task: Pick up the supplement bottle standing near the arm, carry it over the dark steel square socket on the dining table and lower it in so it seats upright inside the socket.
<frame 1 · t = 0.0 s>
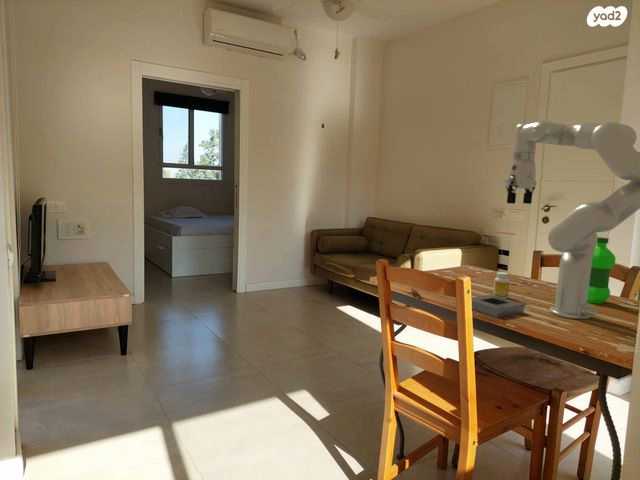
hand: (519, 203, 176), 37 cm above the table, tool pointing down, fingers open, 9 cm apart
plastic bottle: (594, 302, 180), on the table
supplement bottle: (500, 297, 182), on the table
socket: (493, 309, 163), on the table
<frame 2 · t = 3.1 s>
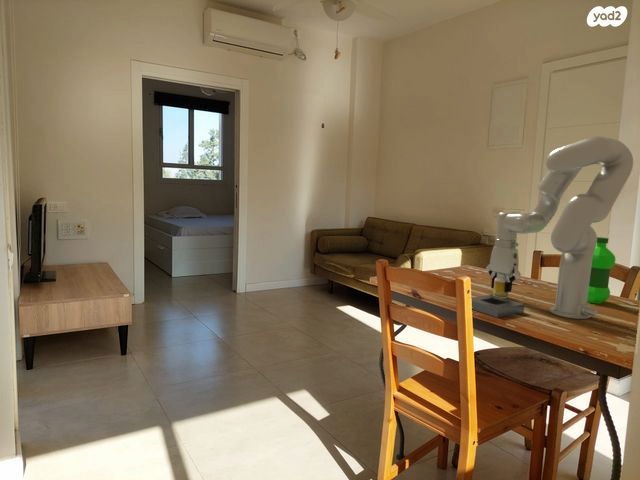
hand: (501, 289, 181), 3 cm above the table, tool pointing down, fingers closed on supplement bottle, 5 cm apart
supplement bottle: (500, 297, 182), on the table, touching gripper
everything else where it was.
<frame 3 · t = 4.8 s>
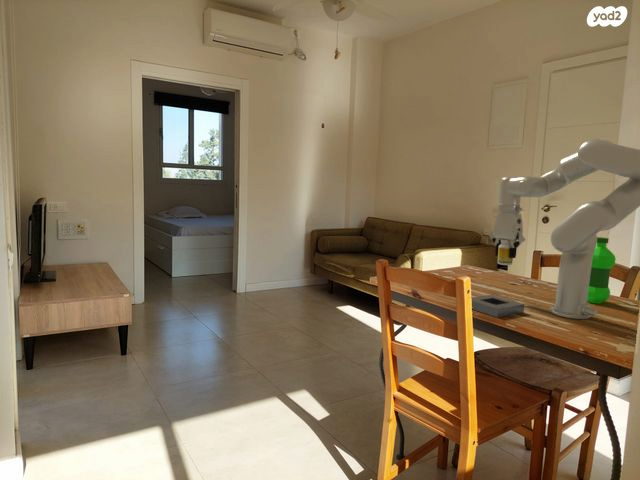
hand: (505, 256, 179), 16 cm above the table, tool pointing down, fingers closed on supplement bottle, 5 cm apart
supplement bottle: (504, 264, 179), point 13 cm above the table, touching gripper
everything else where it was.
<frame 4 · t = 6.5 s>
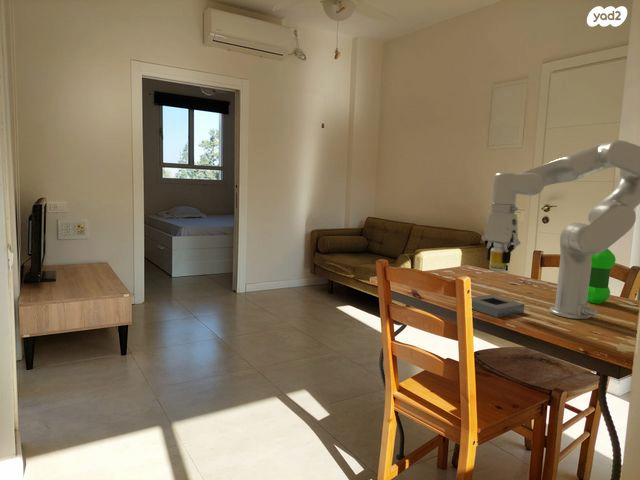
hand: (498, 261, 161), 17 cm above the table, tool pointing down, fingers closed on supplement bottle, 5 cm apart
supplement bottle: (497, 270, 161), point 14 cm above the table, touching gripper
everything else where it was.
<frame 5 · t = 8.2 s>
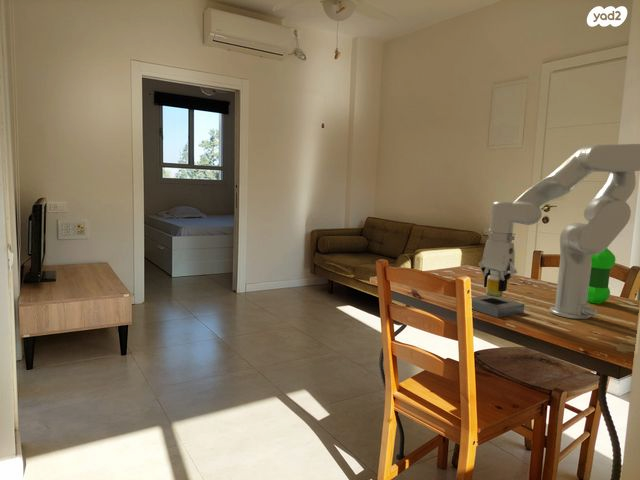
hand: (494, 288, 162), 8 cm above the table, tool pointing down, fingers closed on supplement bottle, 5 cm apart
supplement bottle: (493, 297, 162), point 4 cm above the table, touching gripper
everything else where it was.
when the fingers open (4 cm above the table, at t = 9.7 s): supplement bottle drops 1 cm, resting in socket.
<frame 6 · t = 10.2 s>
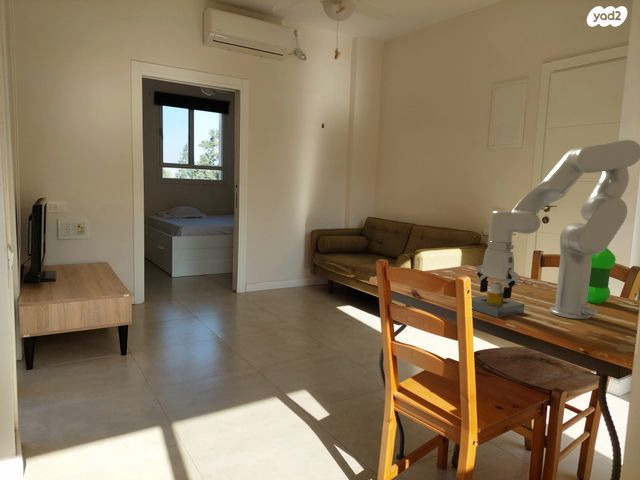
hand: (494, 294, 162), 5 cm above the table, tool pointing down, fingers open, 9 cm apart
supplement bottle: (493, 310, 163), resting in socket
everything else where it was.
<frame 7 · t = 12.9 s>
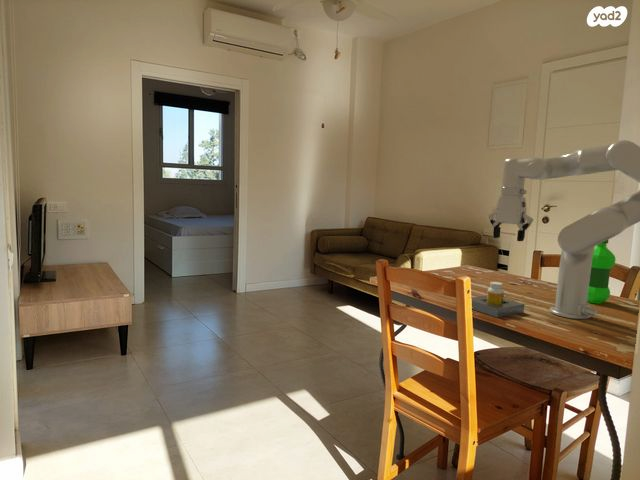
hand: (508, 239, 172), 24 cm above the table, tool pointing down, fingers open, 9 cm apart
nothing on the table moved.
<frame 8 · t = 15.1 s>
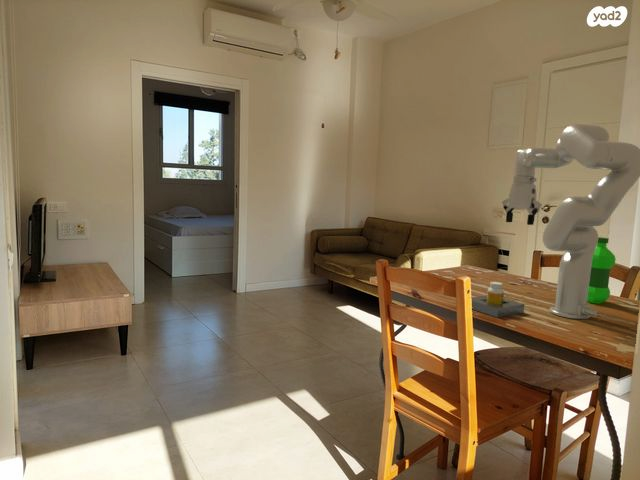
hand: (519, 223, 188), 28 cm above the table, tool pointing down, fingers open, 9 cm apart
nothing on the table moved.
at the end: supplement bottle 0.1 cm off-centre on the socket, point 0.0 cm above the socket's base; supplement bottle tilted 0°; the gripper is holding nothing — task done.
